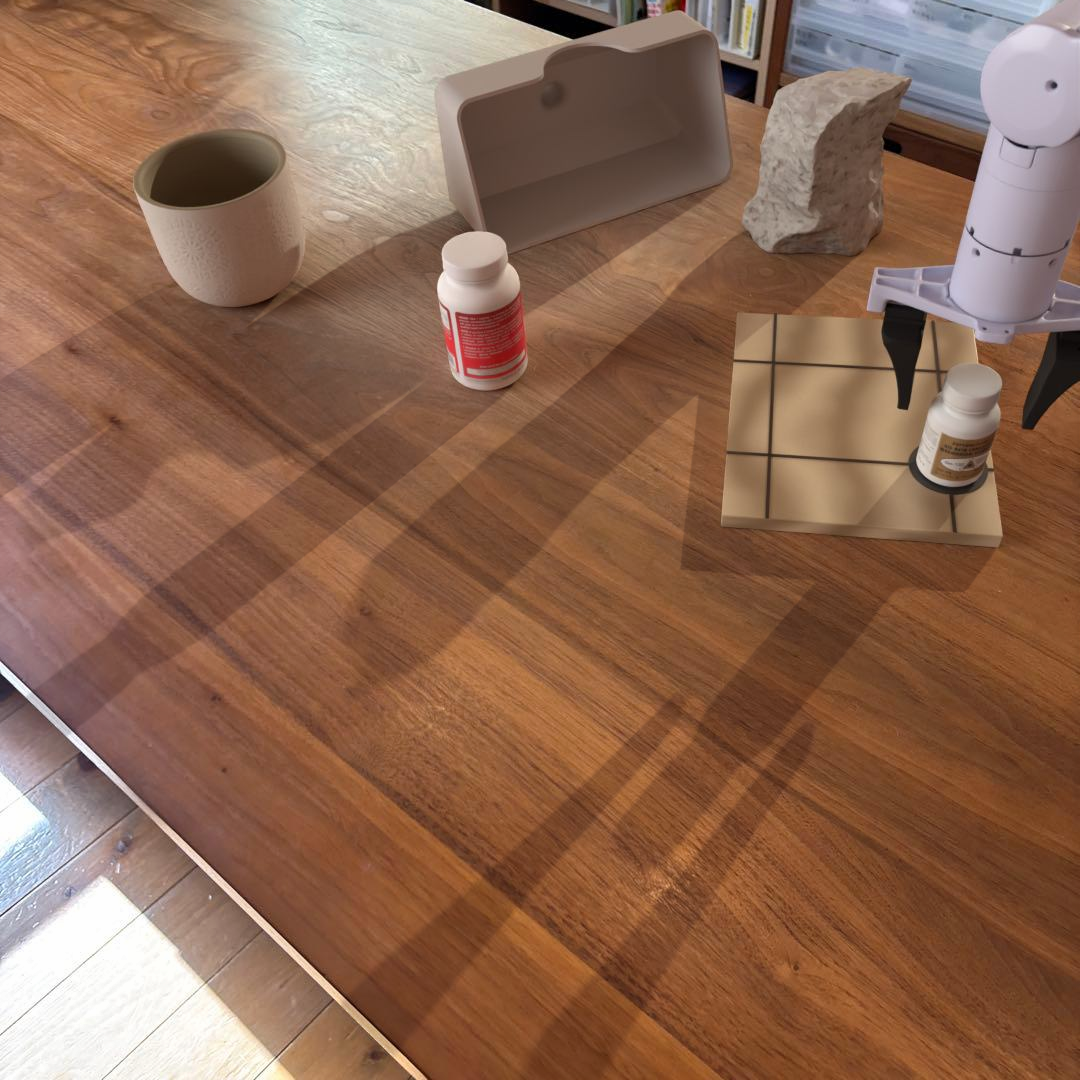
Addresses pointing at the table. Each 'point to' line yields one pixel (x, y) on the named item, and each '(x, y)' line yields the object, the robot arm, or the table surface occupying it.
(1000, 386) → the pill bottle
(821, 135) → the decorative stone
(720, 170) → the grey storage bin
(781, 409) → the board
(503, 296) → the pill bottle
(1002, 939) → the table surface
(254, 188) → the planter
